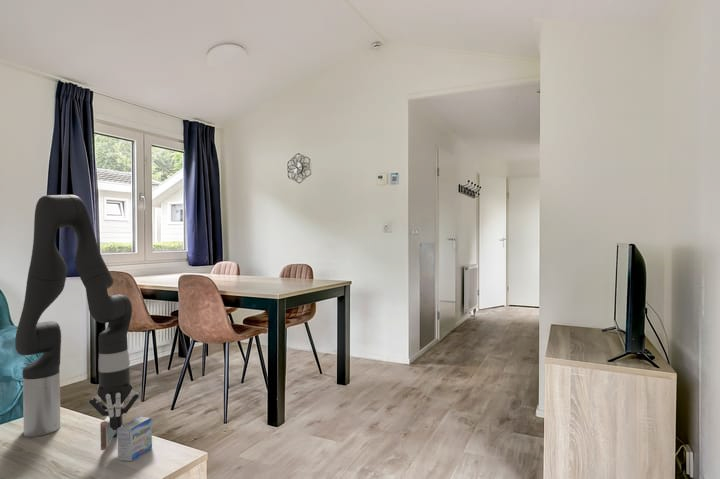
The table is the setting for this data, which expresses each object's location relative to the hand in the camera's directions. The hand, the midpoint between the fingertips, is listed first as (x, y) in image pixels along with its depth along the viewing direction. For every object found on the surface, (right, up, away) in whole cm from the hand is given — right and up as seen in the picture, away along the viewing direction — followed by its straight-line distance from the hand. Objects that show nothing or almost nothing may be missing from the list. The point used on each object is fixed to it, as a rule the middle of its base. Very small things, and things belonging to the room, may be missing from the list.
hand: (116, 428), depth 123 cm
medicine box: (+7, -6, -3) cm, 10 cm away
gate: (-3, -5, +2) cm, 6 cm away
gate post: (-5, -6, +8) cm, 11 cm away
